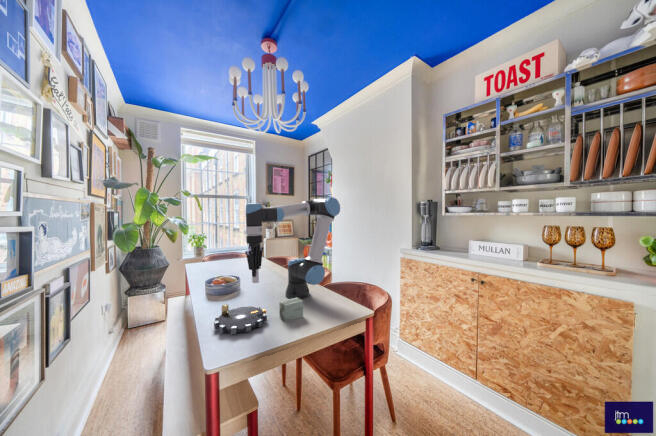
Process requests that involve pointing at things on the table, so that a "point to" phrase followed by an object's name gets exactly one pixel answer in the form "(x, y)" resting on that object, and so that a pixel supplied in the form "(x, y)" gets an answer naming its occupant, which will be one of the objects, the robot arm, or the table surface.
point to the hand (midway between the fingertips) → (255, 282)
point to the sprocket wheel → (239, 319)
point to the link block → (291, 309)
